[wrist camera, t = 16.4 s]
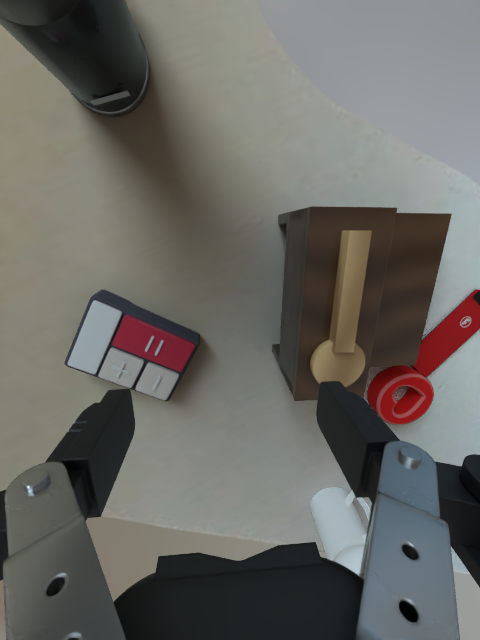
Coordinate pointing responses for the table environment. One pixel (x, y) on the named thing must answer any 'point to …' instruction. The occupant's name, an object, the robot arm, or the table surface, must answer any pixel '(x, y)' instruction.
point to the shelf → (378, 292)
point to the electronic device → (449, 335)
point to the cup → (340, 526)
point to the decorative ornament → (409, 404)
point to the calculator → (131, 346)
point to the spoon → (345, 315)
